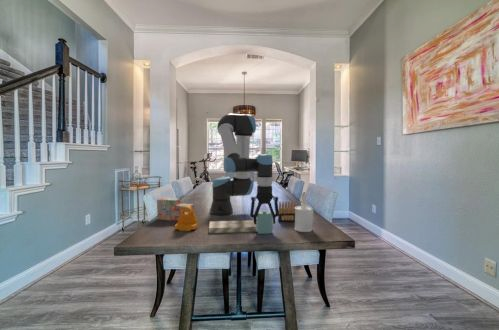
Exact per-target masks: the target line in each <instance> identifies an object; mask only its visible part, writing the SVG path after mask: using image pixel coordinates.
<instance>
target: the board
mask: <svg viewBox="0 0 499 330" xmlns="http://www.w3.org/2000/svg"><path fill="white" fill-rule="evenodd" d="M208 225H209V226H208V233H209V234H221V233H223V234H225V233H226V234H227V233H247V232H248V233H252V232H253V233H255V232H257V231H256V224H254V219H250V220H249V219H248V220H216V221H215V220H213V221H211V220H210V221H209V224H208ZM257 233H258V232H257Z"/></svg>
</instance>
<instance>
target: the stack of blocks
mask: <svg viewBox="0 0 499 330" xmlns="http://www.w3.org/2000/svg"><path fill="white" fill-rule="evenodd" d="M186 205H190V206H191V207H192V208H193V211H194V212H195V210H194V209H195V205H194V204H193V203H181V198H175V197H160V198H158V199H156V210H157V213H156V214H157V215H156V216H157V220H162V221H163V220H165V221H173V220H174V221H176V222H178V219H179V217H180V214H181V209H182V208H183V207H184V206H186ZM185 211H186V212H187V213H189V211H188V210H187V209H185Z"/></svg>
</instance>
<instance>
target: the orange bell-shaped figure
mask: <svg viewBox="0 0 499 330" xmlns="http://www.w3.org/2000/svg"><path fill="white" fill-rule="evenodd" d="M185 209H187V210H188V211H189V213H187V212H186V211H185ZM176 222H177V223H175V225H174V230H179V231H181V232H191V231H192V230H196V229H197V228H198V226H199V221H198V219H197V215H196V213H195V210H194V211H193V208H192V207H191V206H190V205H186V206H184V207H183V208H182V209H181V214H180V217H179V219H178V221H176Z"/></svg>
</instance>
